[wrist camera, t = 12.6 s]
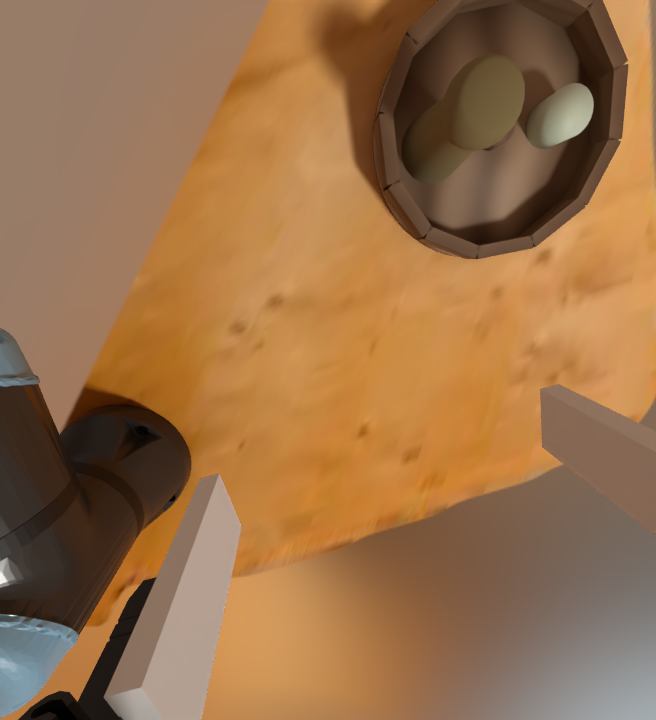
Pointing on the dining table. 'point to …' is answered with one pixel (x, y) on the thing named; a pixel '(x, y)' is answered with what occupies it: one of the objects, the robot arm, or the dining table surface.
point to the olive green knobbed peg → (464, 118)
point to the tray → (514, 152)
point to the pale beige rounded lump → (560, 116)
